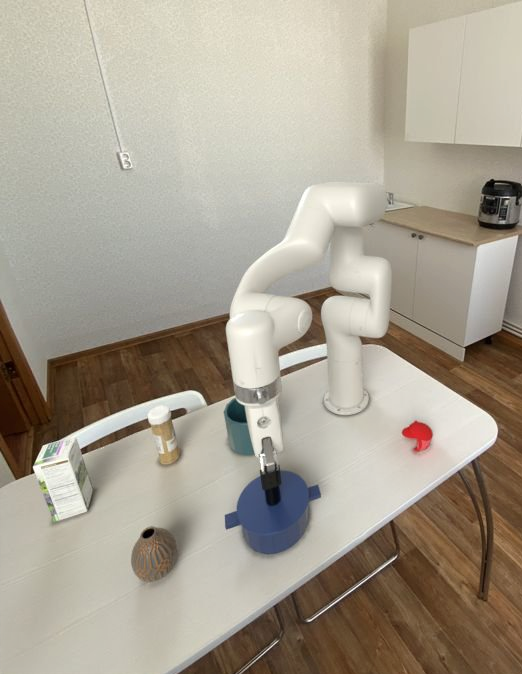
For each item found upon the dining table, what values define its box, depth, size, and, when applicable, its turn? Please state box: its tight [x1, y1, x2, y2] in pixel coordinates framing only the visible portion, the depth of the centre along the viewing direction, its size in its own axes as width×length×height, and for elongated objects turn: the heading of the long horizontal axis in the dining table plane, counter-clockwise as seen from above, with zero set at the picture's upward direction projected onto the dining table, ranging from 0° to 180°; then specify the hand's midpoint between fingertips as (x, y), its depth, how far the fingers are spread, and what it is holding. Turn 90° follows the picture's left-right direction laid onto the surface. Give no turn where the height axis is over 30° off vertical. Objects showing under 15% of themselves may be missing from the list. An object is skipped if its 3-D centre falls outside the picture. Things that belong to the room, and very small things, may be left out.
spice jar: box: [147, 404, 181, 466], centre depth 87 cm, size 5×5×14 cm
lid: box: [236, 469, 310, 536], centre depth 71 cm, size 13×13×7 cm
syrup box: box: [32, 437, 94, 523], centre depth 76 cm, size 6×6×14 cm
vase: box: [130, 525, 178, 583], centre depth 65 cm, size 7×7×9 cm
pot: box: [223, 397, 264, 456], centre depth 94 cm, size 12×12×9 cm
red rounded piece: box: [401, 420, 434, 453], centre depth 91 cm, size 8×6×6 cm
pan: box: [224, 484, 322, 555], centre depth 73 cm, size 12×18×5 cm
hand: (267, 464), depth 69 cm, fingers open, 9 cm apart
